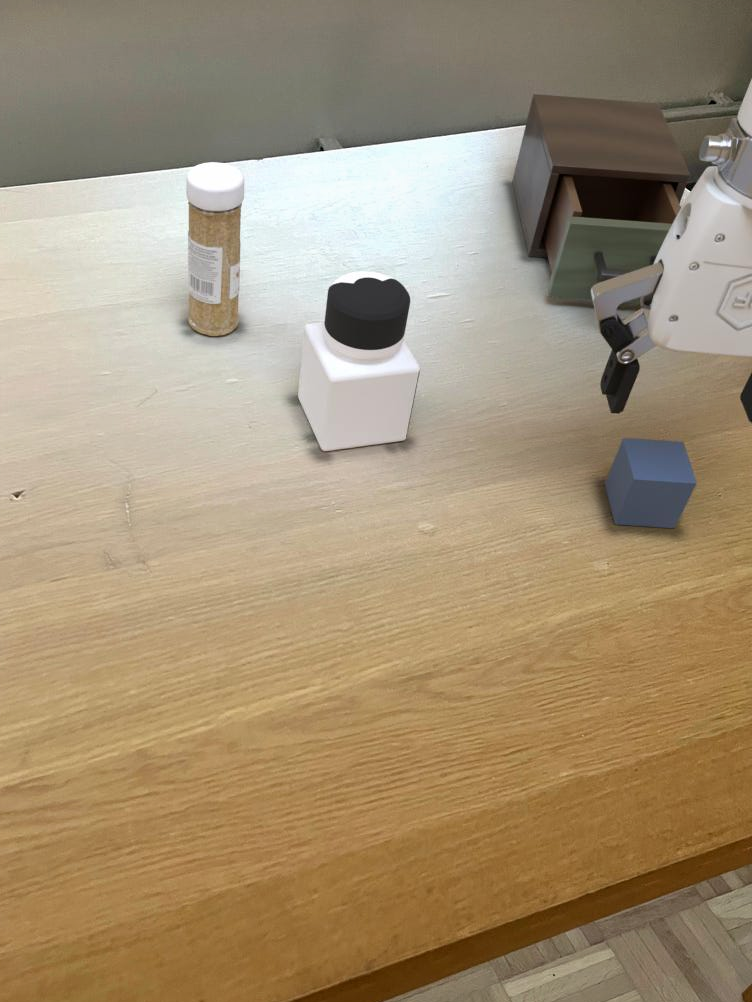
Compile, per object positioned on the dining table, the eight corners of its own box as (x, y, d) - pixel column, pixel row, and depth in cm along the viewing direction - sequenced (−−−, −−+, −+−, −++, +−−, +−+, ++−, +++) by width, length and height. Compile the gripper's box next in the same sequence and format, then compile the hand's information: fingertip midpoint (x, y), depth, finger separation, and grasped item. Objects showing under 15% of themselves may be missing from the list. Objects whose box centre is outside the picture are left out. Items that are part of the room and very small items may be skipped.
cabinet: (656, 265, 103) (690, 175, 96) (528, 256, 103) (553, 164, 96) (629, 190, 112) (658, 103, 105) (511, 182, 112) (533, 93, 105)
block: (662, 487, 82) (683, 441, 79) (674, 528, 79) (697, 483, 76) (604, 483, 82) (622, 437, 79) (614, 524, 79) (633, 478, 76)
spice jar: (249, 327, 93) (256, 178, 82) (207, 344, 91) (209, 194, 80) (217, 302, 95) (221, 154, 84) (176, 318, 93) (174, 169, 82)
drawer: (681, 334, 94) (712, 259, 89) (554, 325, 94) (577, 249, 88) (643, 229, 105) (669, 157, 100) (530, 221, 105) (549, 148, 100)
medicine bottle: (407, 442, 84) (434, 310, 75) (321, 453, 82) (338, 320, 73) (378, 387, 88) (400, 255, 79) (296, 397, 87) (309, 264, 77)
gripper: (653, 184, 57) (565, 432, 71) (964, 209, 58) (819, 451, 71) (628, 121, 62) (550, 364, 75) (915, 145, 63) (788, 383, 76)
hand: (680, 406), depth 73 cm, fingers open, 9 cm apart
